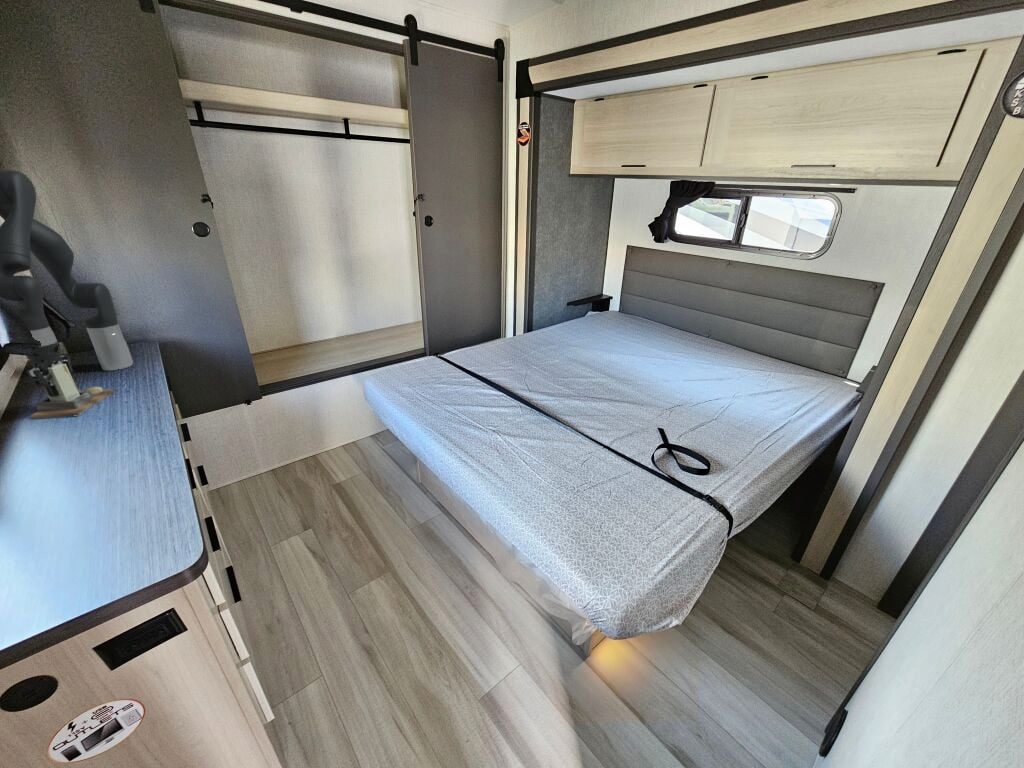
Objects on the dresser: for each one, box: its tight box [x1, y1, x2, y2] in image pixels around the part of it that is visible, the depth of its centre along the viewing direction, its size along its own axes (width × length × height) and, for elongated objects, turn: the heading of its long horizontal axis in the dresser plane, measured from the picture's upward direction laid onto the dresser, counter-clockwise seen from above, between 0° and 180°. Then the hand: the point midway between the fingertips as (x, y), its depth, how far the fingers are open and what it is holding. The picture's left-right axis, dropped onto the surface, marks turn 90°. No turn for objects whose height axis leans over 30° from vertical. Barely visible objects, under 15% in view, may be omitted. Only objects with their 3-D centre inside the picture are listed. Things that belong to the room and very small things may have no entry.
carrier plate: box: [30, 386, 115, 420], centre depth 137 cm, size 18×12×4 cm, turn 12°
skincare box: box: [43, 364, 80, 402], centre depth 132 cm, size 6×4×12 cm
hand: (61, 392), depth 133 cm, fingers closed on skincare box, 5 cm apart
